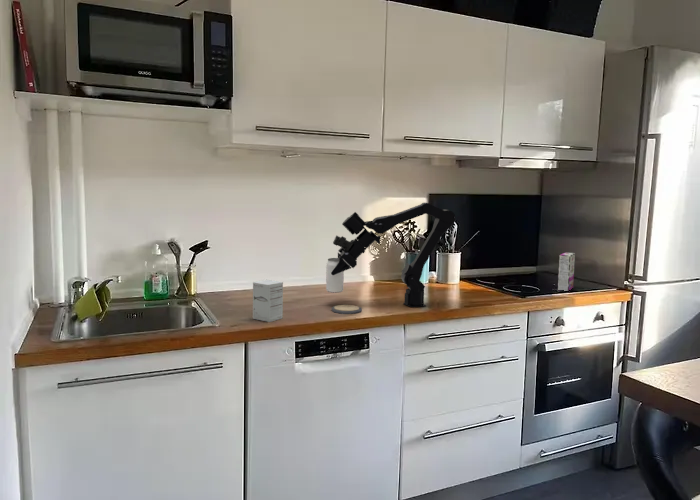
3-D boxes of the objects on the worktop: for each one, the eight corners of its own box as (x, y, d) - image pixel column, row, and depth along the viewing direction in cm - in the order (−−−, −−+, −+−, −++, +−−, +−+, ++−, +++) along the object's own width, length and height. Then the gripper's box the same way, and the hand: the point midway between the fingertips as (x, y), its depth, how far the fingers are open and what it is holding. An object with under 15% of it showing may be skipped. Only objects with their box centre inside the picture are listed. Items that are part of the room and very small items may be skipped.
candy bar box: (561, 287, 261) (564, 252, 259) (573, 288, 258) (575, 253, 256) (556, 291, 252) (558, 254, 250) (568, 292, 249) (570, 255, 247)
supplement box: (251, 319, 190) (251, 281, 189) (266, 315, 196) (267, 279, 195) (268, 322, 186) (268, 284, 185) (283, 318, 192) (283, 281, 191)
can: (333, 287, 219) (334, 256, 216) (346, 290, 215) (347, 259, 212) (322, 290, 214) (322, 259, 211) (335, 293, 210) (336, 262, 207)
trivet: (354, 306, 213) (354, 303, 213) (366, 312, 203) (366, 309, 203) (327, 308, 209) (327, 305, 209) (338, 315, 199) (338, 311, 198)
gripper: (344, 226, 220) (315, 254, 221) (347, 230, 202) (316, 261, 202) (364, 246, 222) (335, 274, 222) (369, 252, 204) (338, 283, 204)
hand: (331, 272), depth 213 cm, fingers closed on can, 6 cm apart
